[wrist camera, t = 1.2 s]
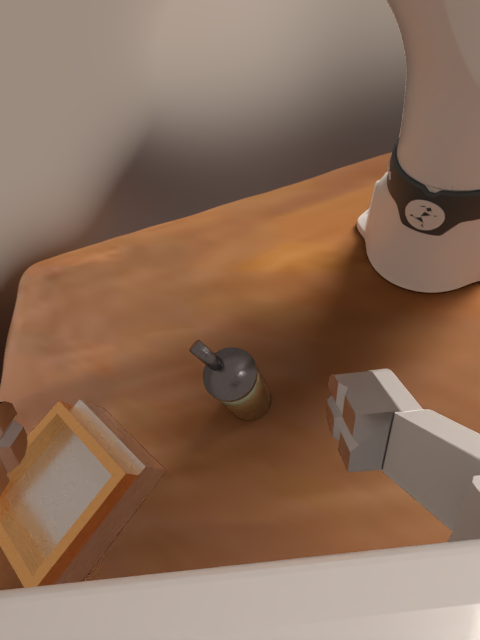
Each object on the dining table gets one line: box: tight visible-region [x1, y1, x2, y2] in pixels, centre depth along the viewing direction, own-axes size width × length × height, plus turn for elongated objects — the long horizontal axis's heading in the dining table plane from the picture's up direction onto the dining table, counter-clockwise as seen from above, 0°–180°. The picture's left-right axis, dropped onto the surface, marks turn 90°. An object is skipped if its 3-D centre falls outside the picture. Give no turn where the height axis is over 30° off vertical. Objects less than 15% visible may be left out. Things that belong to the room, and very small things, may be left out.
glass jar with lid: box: [189, 340, 271, 421], centre depth 35 cm, size 5×7×12 cm
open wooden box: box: [0, 399, 166, 588], centre depth 37 cm, size 14×15×8 cm
